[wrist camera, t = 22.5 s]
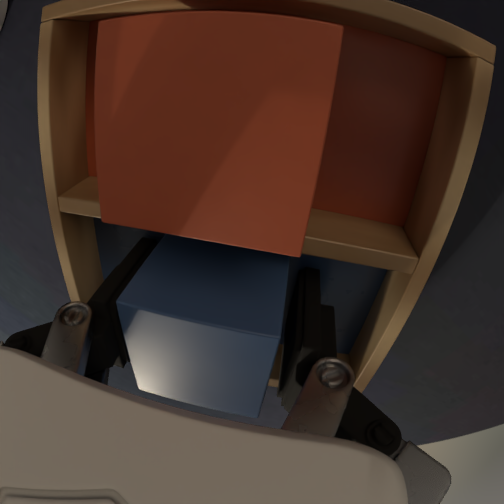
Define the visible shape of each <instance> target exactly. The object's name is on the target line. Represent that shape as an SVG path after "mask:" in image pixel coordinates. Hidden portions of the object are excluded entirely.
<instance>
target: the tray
mask: <svg viewBox="0 0 504 504" xmlns="http://www.w3.org/2000/svg"><path fill="white" fill-rule="evenodd" d="M187 11H230V12H250V13H263V14H274V15H283V16H291V17H298V18H305V19H311V20H317V21H322V22H328V23H333V24H337V25H341V26H343V28H344V29H343V36H342V43H341V50H340V57H339V63H338V70H337V76H336V82H335V88H334V94H333V100H332V106H331V112H330V117H329V123H328V128H327V134H326V139H325V144H324V150H323V155H322V160H321V165H320V170H319V175H318V180H317V185H316V190H315V194H314V199H313V204H312V209H311V213H310V218H309V222H308V227H307V231H306V236H305V240H304V244H303V249H302V253H301V256H300V257H294V256H290V261H289V270H288V280H287V289H286V298H285V307H284V315H283V324H282V332H281V339H280V343H279V346H278V350H277V354H276V357H275V361H274V365H273V368H272V372H271V375H270V379H269V382H268V386H273V387H278V383H279V375H280V367H281V358H282V350H283V341H284V332H285V325H286V320H287V316H288V312H289V308H290V304H291V300H292V296H293V292H294V289H295V285H296V280H297V276H298V272H299V270H304V269H305V267H309V268H315V269H319V270H320V289H321V304H324V305H330V306H333V307H334V311H335V327H336V346H337V358H339V359H341V360H343V361H345V362H346V363H347V364H348V365H350V366H351V368H352V370H353V371H354V375H355V382H354V385H353V386H354V387H355V388H356V389H357V390H358V391H359V392H361V393H362V392H363V390H364V389H365V387H366V386H367V384H368V383H369V381H370V380H371V378H372V377H373V375H374V374H375V372H376V371H377V369H378V368H379V366H380V364H381V363H382V361H383V360H384V358H385V356H386V355H387V353H388V352H389V350H390V348H391V347H392V345H393V343H394V341H395V340H396V338H397V336H398V335H399V333H400V331H401V329H402V328H403V326H404V324H405V322H406V320H407V318H408V317H409V315H410V313H411V311H412V309H413V307H414V305H415V303H416V302H417V300H418V298H419V296H420V294H421V292H422V290H423V288H424V286H425V284H426V282H427V279H428V277H429V275H430V273H431V271H432V269H433V267H434V264H435V262H436V260H437V258H438V256H439V253H440V251H441V249H442V246H443V244H444V242H445V239H446V237H447V234H448V232H449V229H450V227H451V224H452V222H453V219H454V217H455V214H456V211H457V209H458V206H459V203H460V200H461V197H462V195H463V192H464V189H465V186H466V183H467V180H468V177H469V173H470V170H471V167H472V164H473V160H474V157H475V153H476V150H477V146H478V142H479V138H480V134H481V130H482V126H483V122H484V118H485V113H486V109H487V104H488V99H489V93H490V88H491V82H492V76H493V69H494V66H493V65H492V64H494V61H495V53H496V46H495V45H493V44H491V43H489V42H488V41H486V40H484V39H482V38H480V37H478V36H476V35H474V34H472V33H470V32H468V31H466V30H464V29H462V28H460V27H458V26H456V25H453V24H451V23H449V22H447V21H444V20H442V19H439V18H437V17H435V16H432V15H430V14H427V13H424V12H422V11H419V10H416V9H414V8H411V7H408V6H405V5H402V4H399V3H396V2H393V1H390V0H62V1H59V2H56V3H53V4H50V5H47V6H44V7H43V10H42V19H41V22H43V23H41V27H40V38H39V52H38V123H39V138H40V150H41V159H42V168H43V176H44V183H45V190H46V196H47V202H48V208H49V214H50V219H51V224H52V229H53V234H54V238H55V243H56V247H57V251H58V255H59V259H60V263H61V267H62V271H63V275H64V278H65V282H66V285H67V289H68V292H69V295H70V299H71V302H73V301H80V302H84V303H87V302H88V301H89V299H90V298H91V297H92V296H93V294H94V293H95V292H96V290H97V289H98V288H99V287H100V285H101V284H102V283H103V282H104V280H105V279H106V278H107V277H108V275H109V274H110V273H111V272H112V271H113V269H114V268H115V267H116V266H117V265H119V264H120V263H121V262H122V260H123V259H124V258H125V257H126V256H127V254H128V253H129V252H130V251H131V250H132V248H133V247H134V246H135V245H136V244H137V243H138V241H139V240H140V239H141V238H142V237H145V238H150V239H155V240H156V241H157V244H158V243H159V242H160V241H161V239H162V238H163V237H164V235H165V234H166V233H160V232H154V231H149V230H143V229H137V228H132V227H126V226H120V225H115V224H109V223H103V222H102V220H101V212H100V203H99V193H98V182H97V169H96V153H95V127H94V86H95V61H96V46H97V34H98V24H99V22H100V21H102V20H108V19H114V18H121V17H128V16H135V15H144V14H155V13H167V12H187Z"/></svg>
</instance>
